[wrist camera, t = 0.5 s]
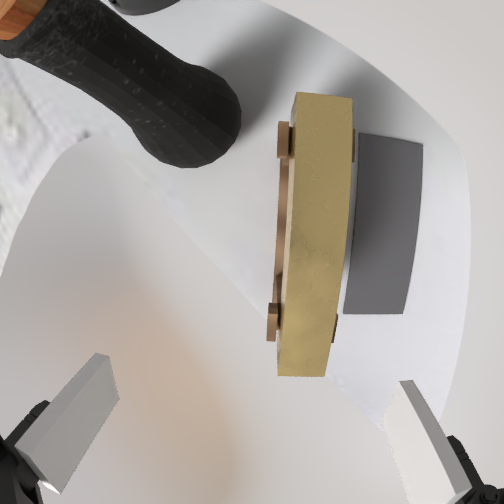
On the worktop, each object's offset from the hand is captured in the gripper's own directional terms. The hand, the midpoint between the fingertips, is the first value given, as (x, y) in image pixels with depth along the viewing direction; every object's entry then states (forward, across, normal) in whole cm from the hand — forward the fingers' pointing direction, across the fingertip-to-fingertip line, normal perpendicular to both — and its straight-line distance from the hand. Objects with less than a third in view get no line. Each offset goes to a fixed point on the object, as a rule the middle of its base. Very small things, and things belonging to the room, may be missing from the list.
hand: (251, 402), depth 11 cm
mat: (+25, +15, +5) cm, 29 cm away
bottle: (+25, -9, +15) cm, 31 cm away
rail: (+16, +4, +5) cm, 17 cm away
